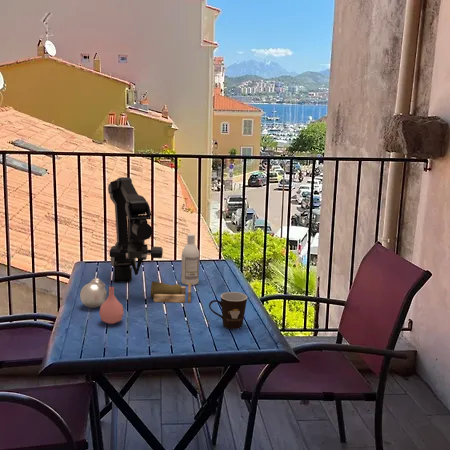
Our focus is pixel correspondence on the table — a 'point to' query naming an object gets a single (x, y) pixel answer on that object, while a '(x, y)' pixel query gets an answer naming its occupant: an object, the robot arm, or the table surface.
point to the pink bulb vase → (111, 309)
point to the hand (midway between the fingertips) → (136, 274)
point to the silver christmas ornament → (93, 293)
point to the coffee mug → (232, 309)
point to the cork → (164, 288)
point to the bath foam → (190, 262)
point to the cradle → (174, 296)
